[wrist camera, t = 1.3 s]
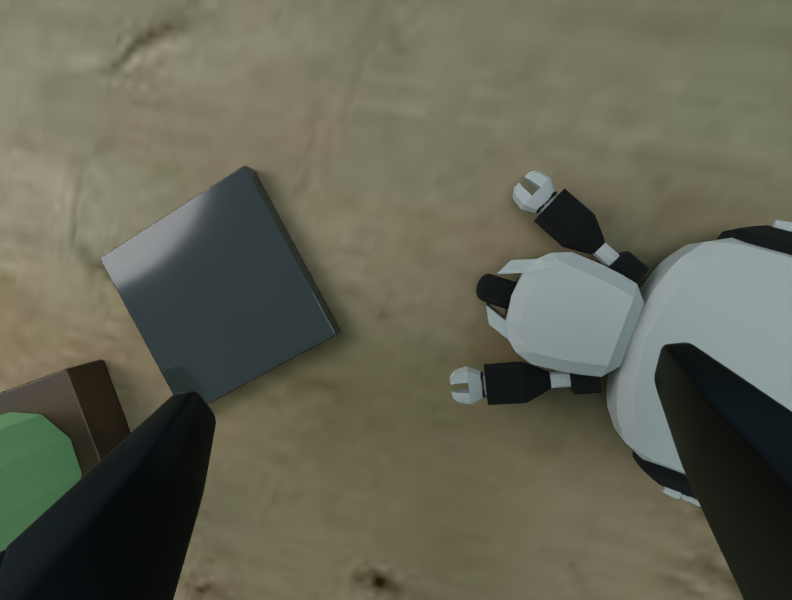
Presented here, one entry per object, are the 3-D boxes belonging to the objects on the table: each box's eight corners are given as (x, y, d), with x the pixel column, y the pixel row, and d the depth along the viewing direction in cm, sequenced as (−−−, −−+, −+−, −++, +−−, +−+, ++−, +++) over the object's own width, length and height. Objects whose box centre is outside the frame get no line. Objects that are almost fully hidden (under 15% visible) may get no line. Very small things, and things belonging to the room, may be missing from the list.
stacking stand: (155, 500, 27) (48, 582, 20) (36, 535, 28) (-102, 623, 21) (103, 359, 27) (-24, 392, 20) (-15, 402, 28) (-171, 447, 21)
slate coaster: (341, 331, 24) (336, 334, 23) (195, 410, 26) (184, 416, 25) (253, 168, 24) (244, 164, 23) (113, 258, 26) (99, 258, 25)
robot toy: (443, 390, 24) (740, 501, 22) (431, 415, 20) (802, 560, 17) (518, 168, 23) (848, 256, 20) (522, 143, 18) (946, 251, 16)
